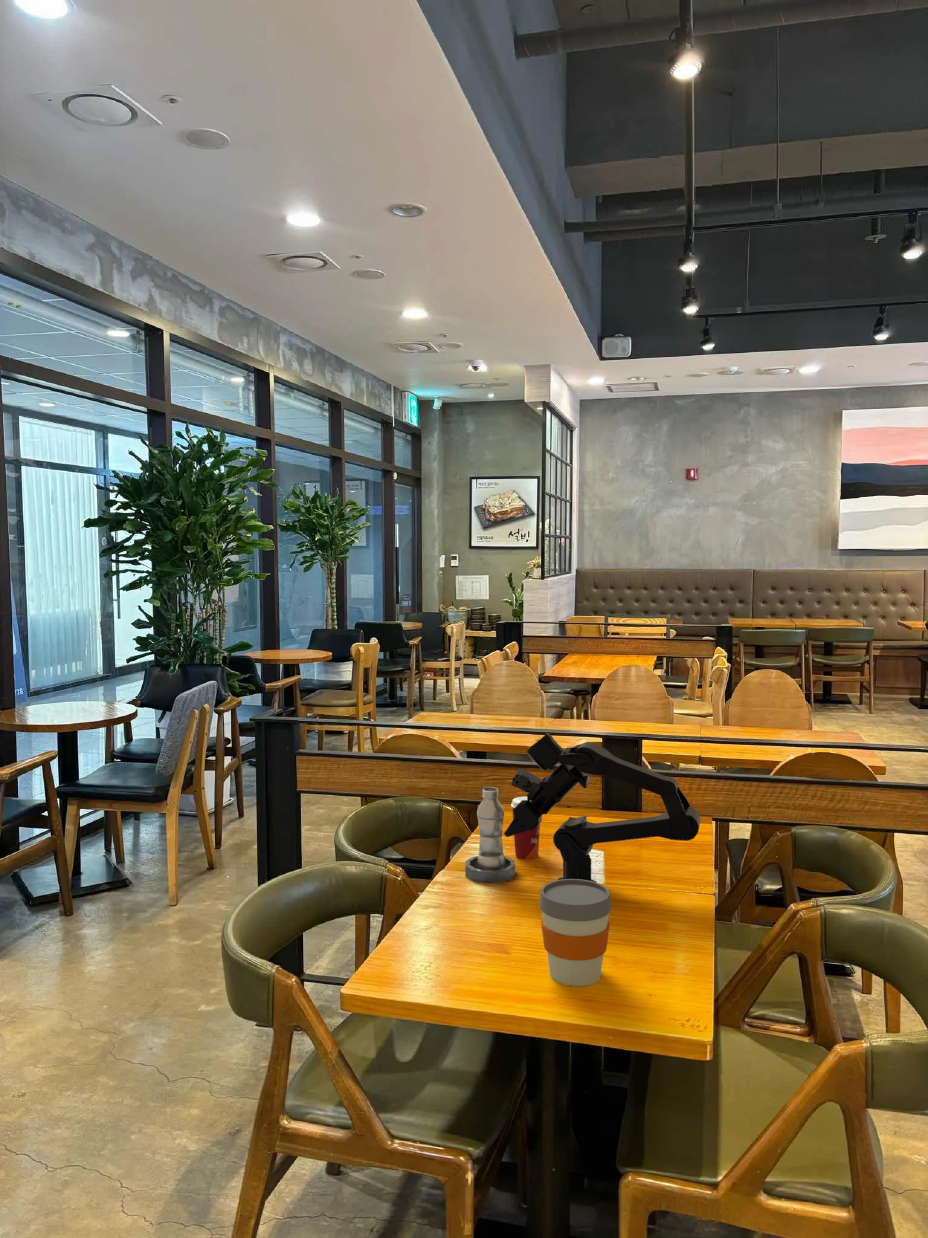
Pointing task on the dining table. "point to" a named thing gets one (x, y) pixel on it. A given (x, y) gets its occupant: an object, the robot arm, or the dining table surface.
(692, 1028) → the dining table surface
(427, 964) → the dining table surface
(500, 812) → the plastic bottle
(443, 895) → the dining table surface
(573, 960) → the reusable coffee cup
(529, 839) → the paper cup
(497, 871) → the collar
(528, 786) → the robot arm
